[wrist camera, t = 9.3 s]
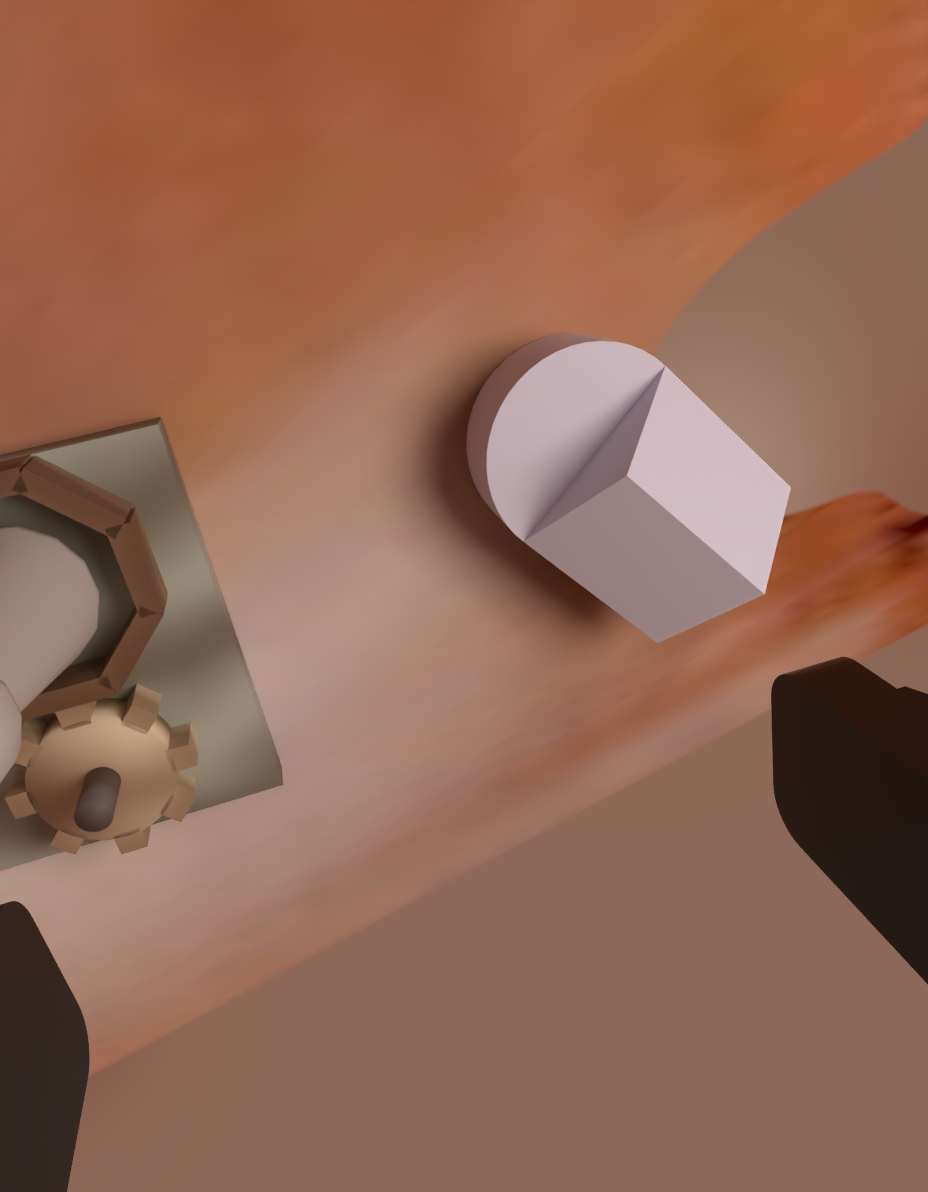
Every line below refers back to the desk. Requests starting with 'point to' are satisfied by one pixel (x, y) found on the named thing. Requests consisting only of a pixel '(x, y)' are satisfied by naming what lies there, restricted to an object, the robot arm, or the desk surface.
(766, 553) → the wedge on round base
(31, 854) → the peg board
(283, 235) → the desk surface
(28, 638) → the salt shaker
